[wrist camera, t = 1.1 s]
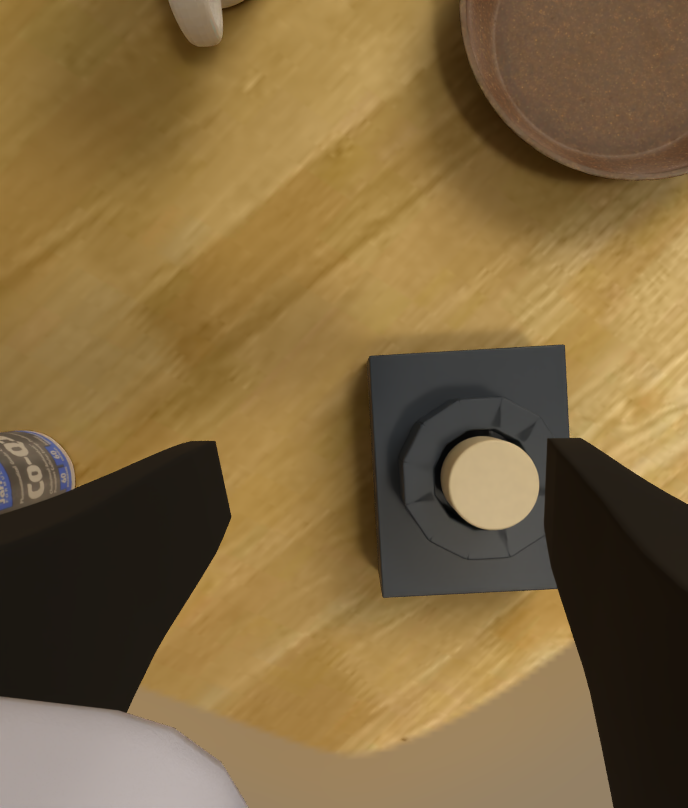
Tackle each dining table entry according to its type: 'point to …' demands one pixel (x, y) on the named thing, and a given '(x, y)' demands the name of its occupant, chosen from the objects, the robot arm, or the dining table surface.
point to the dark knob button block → (427, 449)
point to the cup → (201, 19)
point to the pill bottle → (32, 469)
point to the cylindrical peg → (489, 482)
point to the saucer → (587, 80)
